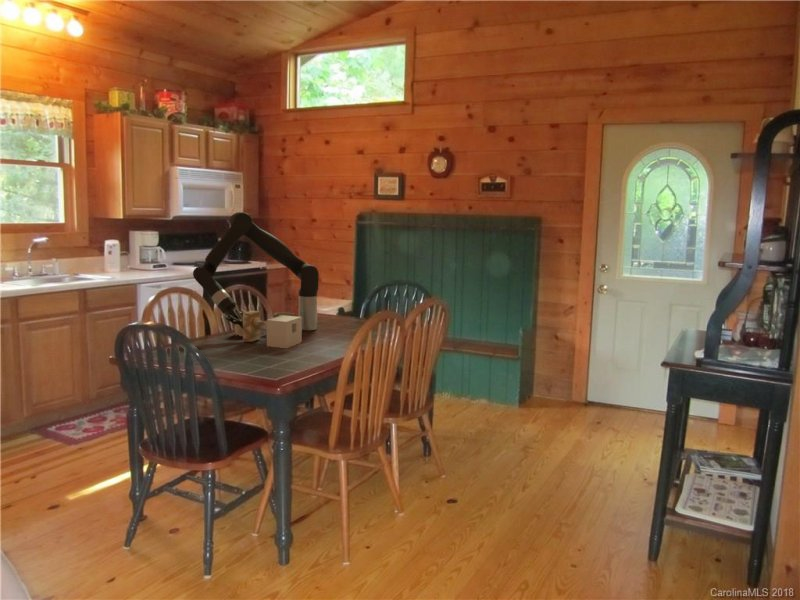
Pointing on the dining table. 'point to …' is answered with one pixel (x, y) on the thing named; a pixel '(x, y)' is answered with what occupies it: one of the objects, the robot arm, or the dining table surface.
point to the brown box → (252, 326)
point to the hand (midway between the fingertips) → (246, 329)
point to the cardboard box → (284, 331)
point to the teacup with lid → (238, 329)
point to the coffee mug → (282, 314)
